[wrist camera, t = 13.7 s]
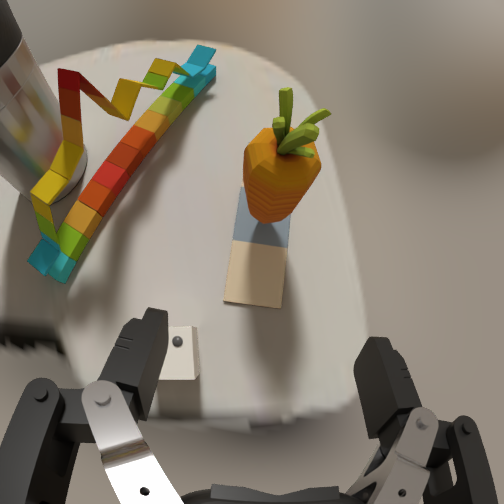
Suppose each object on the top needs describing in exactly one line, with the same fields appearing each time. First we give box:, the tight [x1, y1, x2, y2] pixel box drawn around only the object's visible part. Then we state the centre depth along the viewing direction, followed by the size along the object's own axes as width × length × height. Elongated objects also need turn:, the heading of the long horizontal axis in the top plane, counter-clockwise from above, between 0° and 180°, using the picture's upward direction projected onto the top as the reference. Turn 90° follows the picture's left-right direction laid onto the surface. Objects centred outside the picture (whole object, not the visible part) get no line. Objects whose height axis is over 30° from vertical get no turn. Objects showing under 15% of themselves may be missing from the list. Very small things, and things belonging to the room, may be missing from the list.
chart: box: [27, 45, 216, 284], centre depth 22 cm, size 30×3×15 cm, turn 154°
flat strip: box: [223, 142, 290, 309], centre depth 28 cm, size 5×16×1 cm, turn 173°
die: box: [159, 326, 200, 380], centre depth 22 cm, size 4×4×4 cm
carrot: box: [243, 87, 331, 224], centre depth 20 cm, size 5×5×15 cm
